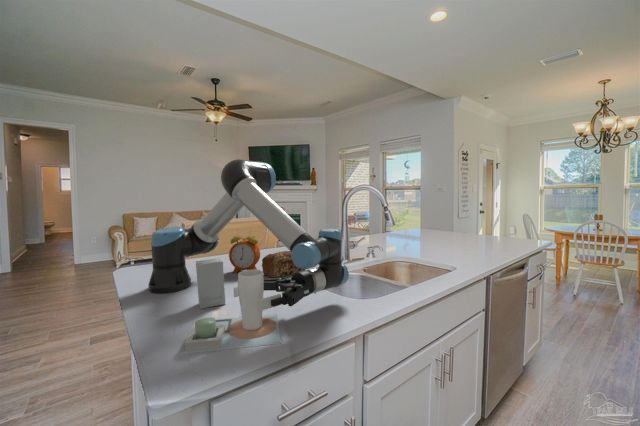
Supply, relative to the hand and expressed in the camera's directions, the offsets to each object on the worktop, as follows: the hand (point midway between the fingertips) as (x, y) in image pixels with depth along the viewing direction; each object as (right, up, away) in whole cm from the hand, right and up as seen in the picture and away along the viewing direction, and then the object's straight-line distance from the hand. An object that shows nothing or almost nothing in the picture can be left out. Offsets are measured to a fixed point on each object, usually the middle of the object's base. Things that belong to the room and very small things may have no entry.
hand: (245, 298), depth 80 cm
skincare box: (-17, -8, +21) cm, 28 cm away
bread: (+4, -5, +59) cm, 59 cm away
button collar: (-8, -9, -6) cm, 13 cm away
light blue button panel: (-2, -9, 0) cm, 9 cm away
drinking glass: (+1, -8, +2) cm, 9 cm away
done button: (-8, -7, -6) cm, 12 cm away
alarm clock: (-15, -5, +62) cm, 64 cm away
